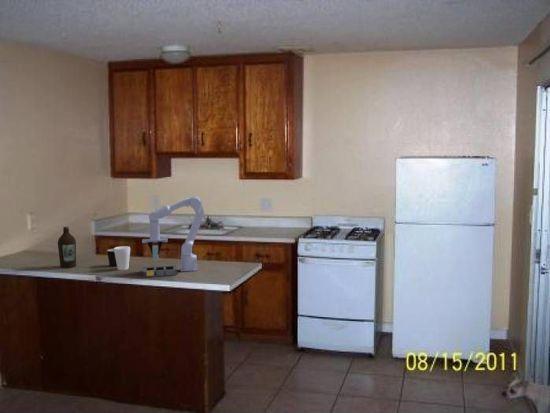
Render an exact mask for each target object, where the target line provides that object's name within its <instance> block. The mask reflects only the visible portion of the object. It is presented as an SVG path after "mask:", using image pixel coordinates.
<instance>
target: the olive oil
mask: <svg viewBox="0 0 550 413" xmlns="http://www.w3.org/2000/svg"><path fill="white" fill-rule="evenodd" d="M62 230H63V231H62V232H63V233H62V234H61V236H60V237H59V238H58V241H57V249H58V256H59V257H58V258H59V259H58V260H59V267H60V268H61V269H72V268H75V267H77V240H76V238H75V236H74V235H72V234H71V233H70V228H69V226H63V229H62Z"/></svg>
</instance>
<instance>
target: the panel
mask: <svg viewBox="0 0 550 413" xmlns="http://www.w3.org/2000/svg"><path fill="white" fill-rule="evenodd" d="M152 248H153V255H152V262H159V255H158V245H152Z"/></svg>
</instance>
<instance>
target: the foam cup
mask: <svg viewBox="0 0 550 413" xmlns="http://www.w3.org/2000/svg"><path fill="white" fill-rule="evenodd" d="M113 249H114V252H115V257H116V263H117V267H116V268H117V270H118V271H127V270H128V269H129V267H130V266H129V264H130V256H131V246H127V245H126V246H123V245H122V246H115V247H114V248H113Z"/></svg>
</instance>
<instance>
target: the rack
mask: <svg viewBox="0 0 550 413" xmlns="http://www.w3.org/2000/svg"><path fill="white" fill-rule="evenodd" d="M142 268H143V270H142V278H152V277H153V278H154V277H155V278H156V277H171V276H170V275H172V276H178V267H177V265H176V264H175V265H163V266H144V267H142Z"/></svg>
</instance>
